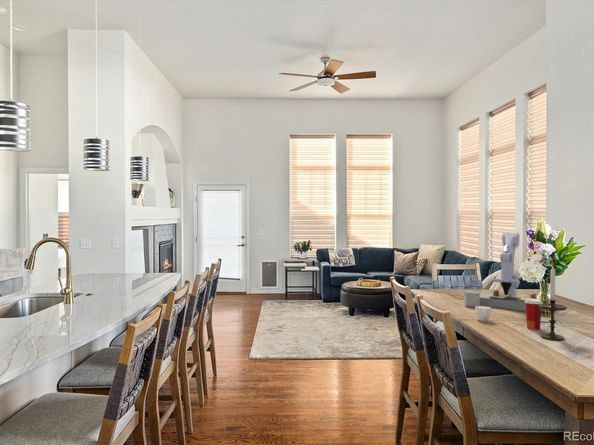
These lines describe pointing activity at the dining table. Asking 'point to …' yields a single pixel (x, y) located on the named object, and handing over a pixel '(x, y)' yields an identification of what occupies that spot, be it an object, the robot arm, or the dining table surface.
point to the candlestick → (552, 309)
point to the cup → (483, 313)
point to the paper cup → (533, 313)
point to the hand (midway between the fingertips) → (506, 294)
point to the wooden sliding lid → (498, 295)
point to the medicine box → (472, 299)
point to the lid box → (502, 302)
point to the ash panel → (527, 298)
